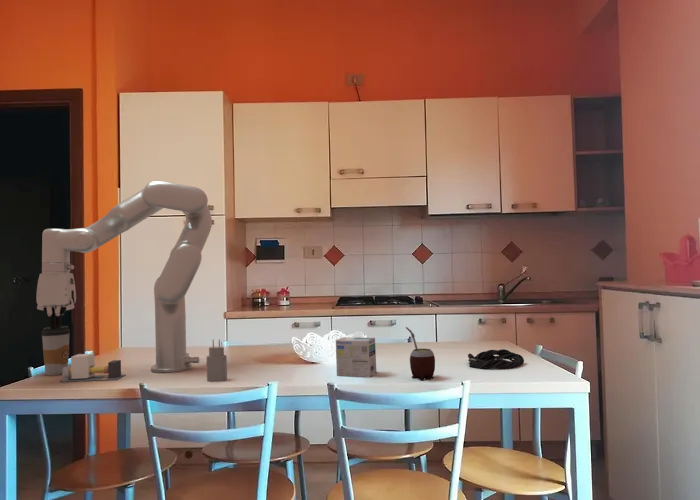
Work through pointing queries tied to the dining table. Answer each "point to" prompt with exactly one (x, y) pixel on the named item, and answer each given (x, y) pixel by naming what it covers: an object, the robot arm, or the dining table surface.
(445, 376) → the dining table surface
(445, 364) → the dining table surface
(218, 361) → the power adapter
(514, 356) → the cable
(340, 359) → the light bulb box
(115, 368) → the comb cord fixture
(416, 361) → the mate gourd
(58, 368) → the coffee cup
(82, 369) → the marker sleeve
